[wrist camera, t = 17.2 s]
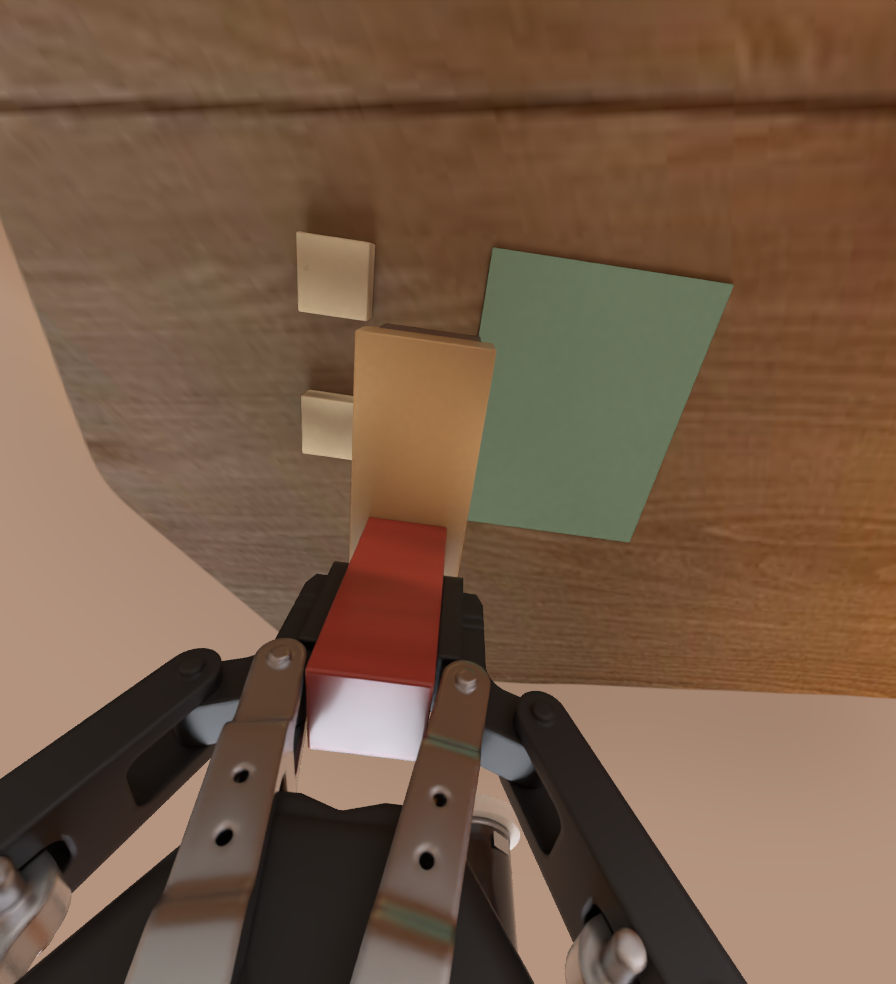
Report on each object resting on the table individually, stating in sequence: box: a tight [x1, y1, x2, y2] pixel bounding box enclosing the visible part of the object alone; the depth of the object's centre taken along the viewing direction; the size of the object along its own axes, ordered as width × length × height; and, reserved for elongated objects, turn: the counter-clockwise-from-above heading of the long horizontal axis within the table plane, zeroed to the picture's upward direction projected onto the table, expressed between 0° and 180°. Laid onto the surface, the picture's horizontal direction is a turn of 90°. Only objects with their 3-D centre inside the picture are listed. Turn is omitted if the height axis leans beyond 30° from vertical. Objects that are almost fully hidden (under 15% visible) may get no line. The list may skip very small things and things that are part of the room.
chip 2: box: [301, 390, 353, 460], centre depth 28 cm, size 4×4×2 cm
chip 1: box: [296, 231, 375, 321], centre depth 24 cm, size 4×4×2 cm
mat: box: [468, 247, 734, 542], centre depth 28 cm, size 18×14×1 cm
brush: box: [305, 323, 497, 762], centre depth 15 cm, size 16×4×10 cm, turn 173°
